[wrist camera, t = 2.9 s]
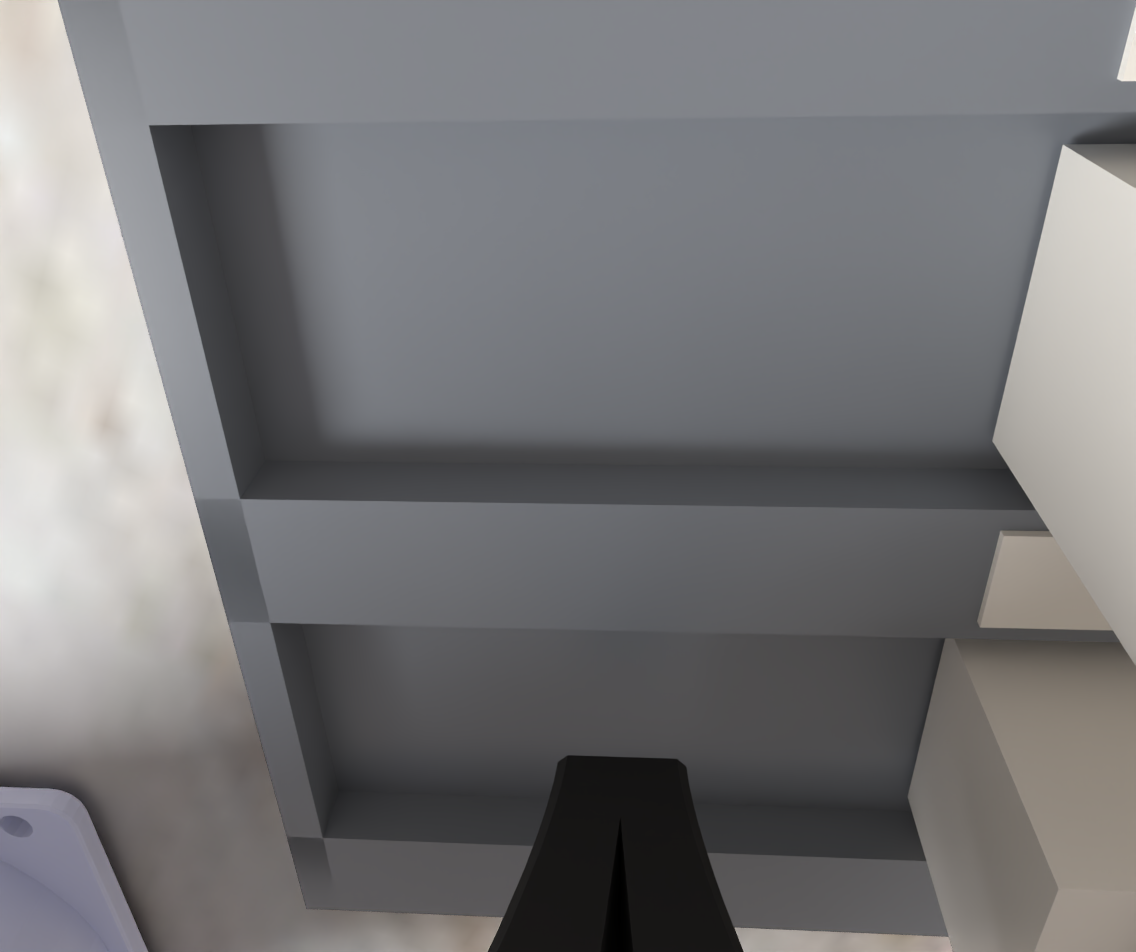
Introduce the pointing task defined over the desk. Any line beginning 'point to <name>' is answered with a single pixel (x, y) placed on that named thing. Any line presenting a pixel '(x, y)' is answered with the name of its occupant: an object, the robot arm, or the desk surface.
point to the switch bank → (602, 402)
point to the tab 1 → (1082, 378)
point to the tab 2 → (1031, 795)
